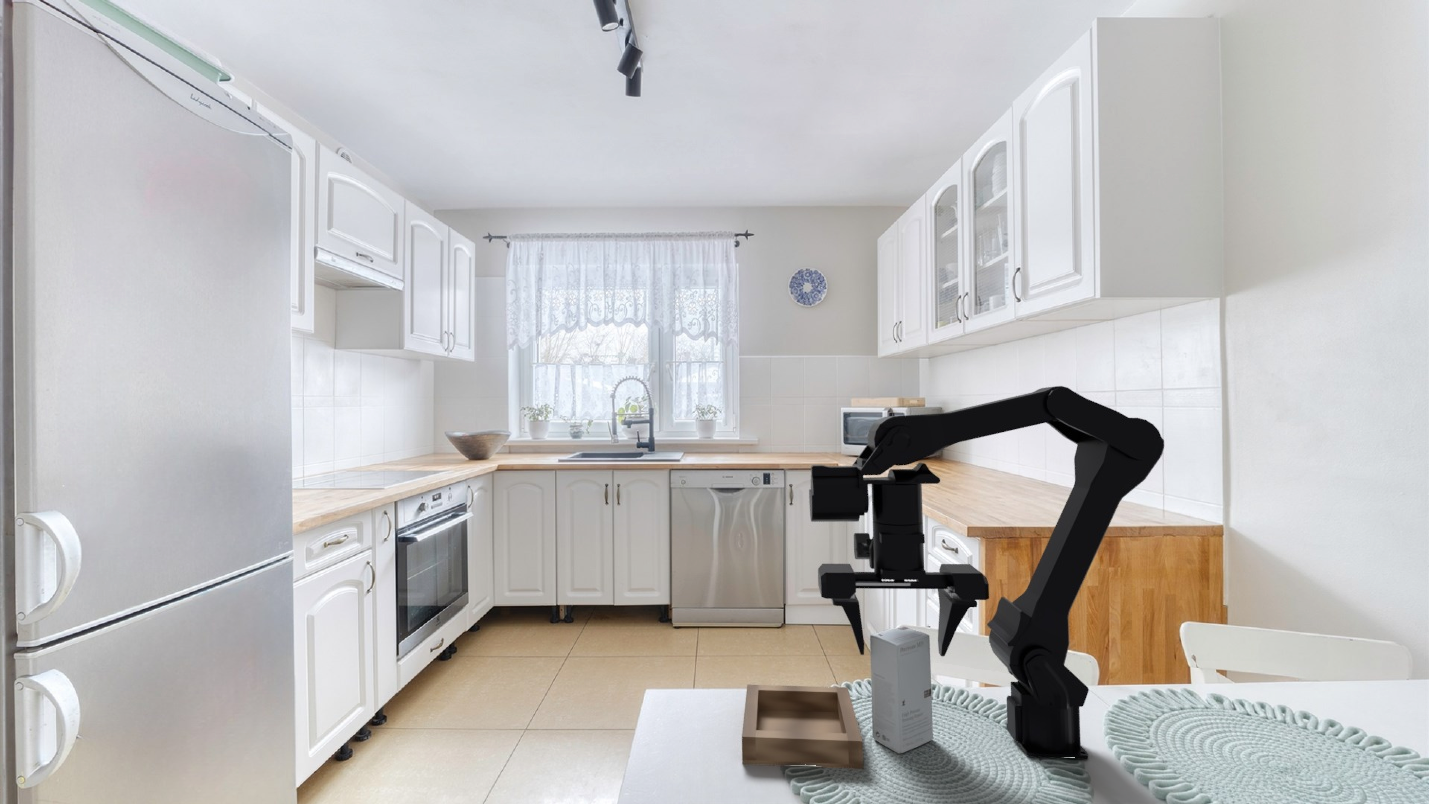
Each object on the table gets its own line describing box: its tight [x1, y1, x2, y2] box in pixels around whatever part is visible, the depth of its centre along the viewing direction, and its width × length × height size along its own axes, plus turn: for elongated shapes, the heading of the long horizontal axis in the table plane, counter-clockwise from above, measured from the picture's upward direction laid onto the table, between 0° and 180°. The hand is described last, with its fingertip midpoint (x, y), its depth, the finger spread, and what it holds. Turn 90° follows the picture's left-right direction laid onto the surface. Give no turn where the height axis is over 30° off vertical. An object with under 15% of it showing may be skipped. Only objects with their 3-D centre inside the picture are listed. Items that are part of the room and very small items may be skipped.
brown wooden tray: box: [741, 684, 864, 770], centre depth 71 cm, size 13×13×3 cm
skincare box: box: [869, 626, 934, 755], centre depth 70 cm, size 6×4×12 cm
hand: (901, 654), depth 70 cm, fingers open, 9 cm apart
